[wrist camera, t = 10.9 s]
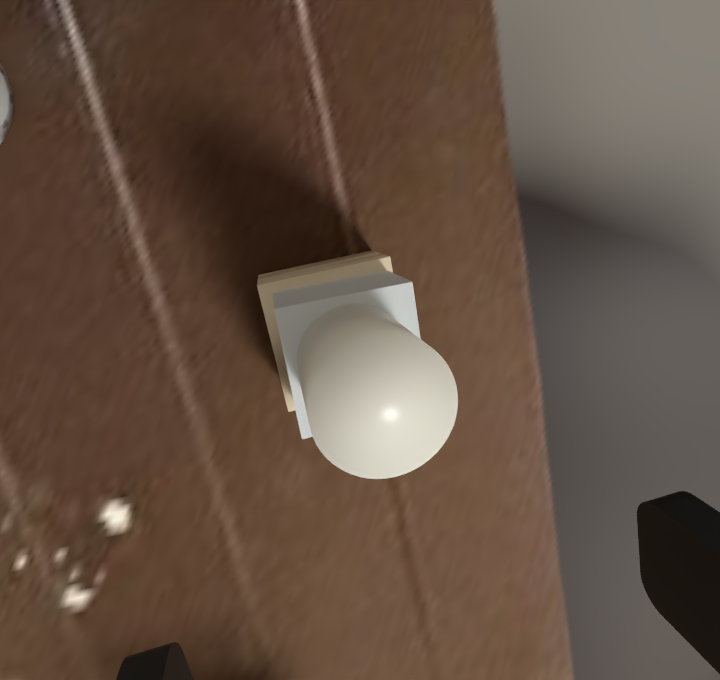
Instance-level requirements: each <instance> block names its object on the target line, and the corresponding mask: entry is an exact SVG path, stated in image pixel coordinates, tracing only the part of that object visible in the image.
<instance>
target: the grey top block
mask: <svg viewBox="0 0 720 680" xmlns="http://www.w3.org/2000/svg"><path fill="white" fill-rule="evenodd" d="M273 302H274V311H275V316H276V320H277V325H278V330H279V334H280V339H281V344H282V348H283V353H284V358H285V362H286V367H287V372H288V376H289V381H290V386H291V390H292V395H293V400H294V404H295V409H296V414H297V418H298V423H299V428H300V432H301V437H302V439H305V438H309V437H313V436H312V433H311V430H310V426H309V421H308V417H307V412H306V408H305V403H304V398H303V394H302V389H301V385H300V380H299V376H298V370H297V353H298V348H299V344H300V342H301V339H302V337H303V335H304V333H305V332H306V330H307V329H308V327H309V326H310V325H311V324H312V323H313V322H314V321H315V320H316V319H317V318H318V317H319V316H320V315H322V314H323V313H325V312H327V311H328V310H330V309H333V308H335V307H338V306H341V305H346V304H365V305H370V306H374V307H376V308H378V309H381V310H382V311H384V312H386V313H387V314H389V315H390V316H391V317H393V318H394V319H395V320H396V321H398V322H399V323H400V324H402V325H403V326H404V327H405V328H407V329H408V330H409V331H411V332H412V333H413V334H414V335H416V336H417V337H418V338H420V332H419V325H418V318H417V311H416V304H415V297H414V290H413V283H412V281H410V280H407V279H405V278H403V277H401V276H398V275H396V274H394V273H392V272H390V271H387V270H385V271H380V272H374V273H369V274H364V275H359V276H354V277H348V278H343V279H338V280H333V281H327V282H322V283H317V284H312V285H307V286H301V287H296V288H291V289H286V290H281V291H275V292H273Z"/></svg>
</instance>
